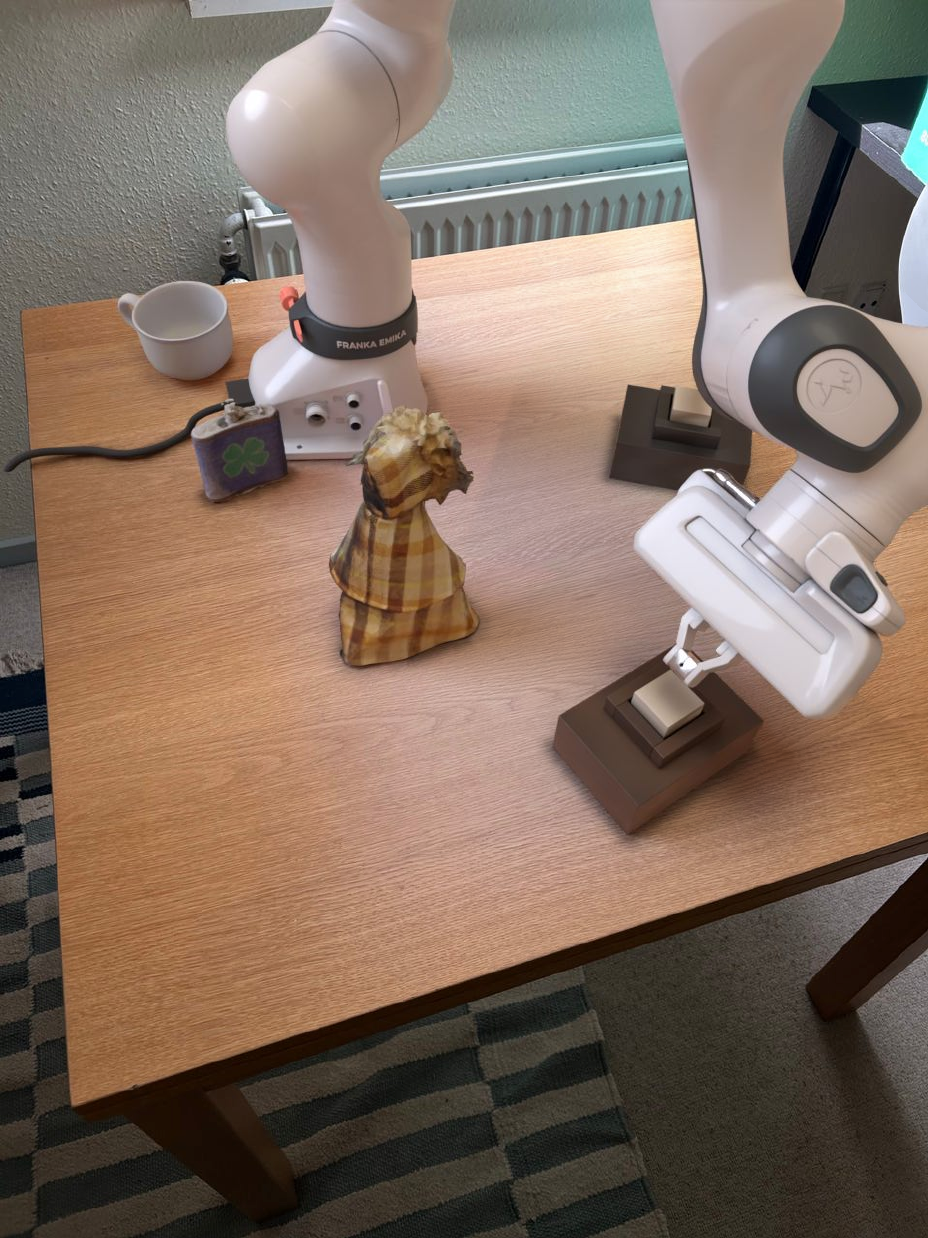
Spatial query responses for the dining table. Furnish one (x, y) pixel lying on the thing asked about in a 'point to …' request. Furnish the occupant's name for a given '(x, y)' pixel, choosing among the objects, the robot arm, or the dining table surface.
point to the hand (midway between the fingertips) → (677, 674)
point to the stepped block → (674, 443)
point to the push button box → (651, 744)
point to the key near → (667, 703)
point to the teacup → (181, 328)
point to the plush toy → (402, 544)
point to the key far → (689, 407)
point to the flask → (240, 450)
